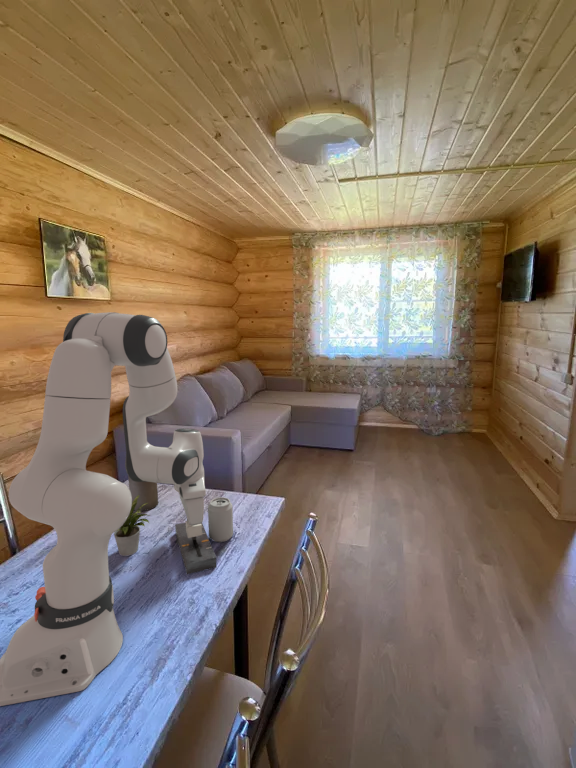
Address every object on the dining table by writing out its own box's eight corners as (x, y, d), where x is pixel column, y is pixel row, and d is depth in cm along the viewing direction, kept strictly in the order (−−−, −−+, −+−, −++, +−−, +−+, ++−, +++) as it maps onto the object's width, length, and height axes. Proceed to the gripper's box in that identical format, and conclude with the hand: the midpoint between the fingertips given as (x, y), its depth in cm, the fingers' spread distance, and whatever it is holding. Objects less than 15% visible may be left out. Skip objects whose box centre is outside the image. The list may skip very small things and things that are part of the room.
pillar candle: (161, 498, 145) (159, 461, 143) (154, 511, 136) (151, 471, 133) (135, 499, 145) (132, 461, 142) (126, 512, 135) (122, 472, 133)
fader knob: (188, 543, 110) (187, 527, 109) (186, 536, 114) (185, 521, 113) (202, 540, 112) (201, 524, 111) (199, 533, 115) (199, 518, 114)
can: (235, 531, 123) (234, 496, 121) (229, 544, 116) (228, 507, 114) (212, 529, 124) (211, 495, 122) (205, 543, 116) (204, 506, 114)
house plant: (105, 575, 101) (100, 518, 99) (92, 551, 112) (87, 499, 109) (157, 554, 110) (154, 502, 108) (141, 534, 121) (138, 485, 118)
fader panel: (186, 574, 102) (186, 564, 101) (175, 533, 122) (175, 524, 121) (216, 567, 105) (216, 556, 104) (200, 527, 125) (200, 519, 124)
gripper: (173, 470, 122) (175, 510, 124) (183, 497, 103) (185, 544, 105) (193, 467, 124) (195, 507, 126) (207, 492, 106) (208, 539, 108)
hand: (190, 524), depth 116 cm, fingers closed
